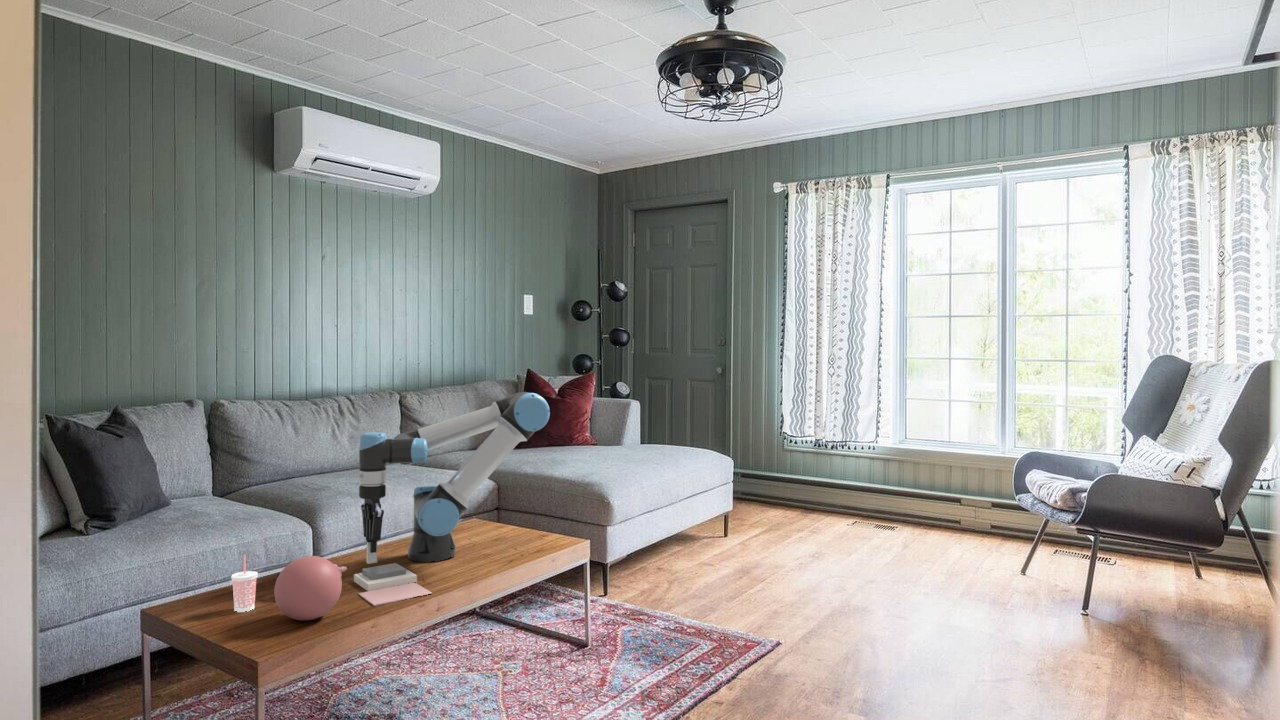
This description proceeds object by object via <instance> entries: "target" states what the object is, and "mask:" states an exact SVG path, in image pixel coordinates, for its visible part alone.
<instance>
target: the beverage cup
mask: <svg viewBox="0 0 1280 720" xmlns="http://www.w3.org/2000/svg"><path fill="white" fill-rule="evenodd" d="M246 556H247V555H246V554H243V571H239V572H235V573H233V574H232V575H231V577H230V579H231V581H232V591H233V609H234V612H235V611H237V612H236V613H246V612H245V611H247V612H250V610H251V611H253V610H255V604H256V603H255V602H256V591H257V578H258V574H259V573H258V571H253V570H248V571H247V569H246V568H247V565H246V563H247V562H246V561H247V558H246ZM252 609H253V610H252Z"/></svg>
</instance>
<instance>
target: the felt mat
mask: <svg viewBox="0 0 1280 720" xmlns="http://www.w3.org/2000/svg"><path fill="white" fill-rule="evenodd" d="M428 594H432V595H433V592H431V591H430V590H428V589H427V588H424V586H421V585H420V584H419V583H418V582H416V583H409V584H404V585H399V586H394V587H389V588H383V589H378V590H373V591H364V592H359V593H358V596H360V598H362V599H364V600H365V601H366V602H367V603H369V604H370V605H372V606H373V607H378V606H382V605H388V604H392V603H397V602H402V600H403V601H406V600H405V599H407V600H411V599H410V598H412V599H414V598H413V597H417V596H422V597H424V596H423V595H427V596H429V595H428ZM417 598H418V597H417Z"/></svg>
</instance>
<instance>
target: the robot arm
mask: <svg viewBox="0 0 1280 720" xmlns="http://www.w3.org/2000/svg"><path fill="white" fill-rule="evenodd" d="M550 411H551V410H550V406H549V404H548V402H547V400H546V399H545V398H544V397H542V396H541V395H540V394H538V393H535V392H529V391H518V392H516V393H513V394H511V395H509V396H505V397H504V398H501V399H498V400H496V401H493V402H492V404H491V405H489V406H486V407H484V408H480V409H477V410H474V411H471V412H467V413H465V414H461V415H458V416H455V417H451V418H449V419H446V420H444V421H439V422H437V423H434V424H430V425H428V426H424V427H421V428H418V429H415V430H412V431H409V432H402V433H398V434H397V435H396V436H395V437H394V438H388V437H387V433H385V432H383V431H381V432H377V431H376V432H375V431H373V432H370V431H368V432H365V433H364V432H363V433H362V434H361V435H360V437H359V450H358V451H359V456H358V458H359V463H358V464H359V467H358V468H359V474H357V477H358V481H359V484H360V485H359V486H358V498H360V499H363V500H364V501H363V502H364V503H363V504H361V505H360V508H361V513H362V514H361V517H362V529H363V537H364V538H365V540H366V556H365V557H366V561H365V562H366V564H368V565H371V564H377V563H378V541H381V535H382V526H383V517H384V513H385V511H384V509H382V504H381V500H380V499H383V498H384V497H386V496H387V495H386V493H387V492H386V490H387V489H386V488H387V487H386V484H385V483H387V465H392V464H417V463H425V462H426V461H427V457H428V451H429V450H433V449H436V448H439V447H442V446H445V445H448V444H451V443H455V442H457V441H460V440H464V439H467V438H470V437H472V436H476V435H478V434H479V435H480V434H481V433H485V432H488V431H491V430H493V431H492V432H491V433H490V434H489V435H488V436H487V437H486V439H485V440H484V441H483V442H482V443H481V444H480V445H479V446H478V447H477V448H476V449H475V450H474V452H473V453H472V454H471V455H470V456H469V457H468V459H467V460H466V461H465V462H464V463H463V464H462V465H461V467H459V468H458V470H457V471H456V472H454V474H453V475H452V476H451V477H450V479H448V481H446V482H439V484H436V485H420V486H416V487H415V488H414V490H413V496H412V498H413V534H412V537H411V540H410V543H409V546H408V551H407V558H409V560H410V559H411V560H410V561H413V560H415V561H414V562H418V561H423V562H422V563H431V561H435V562H440V561H439V560H442V561H445V560H444V559H447V558H450V557H452V556H454V555H455V554H456V555H457V548H456V544H455V541H454V538H453V535H452V532H453V531H454V529H455V528H456V527H457V525H458V523H459V520H460V517H462V515H463V514H464V513H465V512H466V510H468V508H469V500H470V498H471V497H473V495H475V493H476V492H478V490H479V488H481V486H482V485H483V484H484V483H485V482H486V481H487V480H488V478H489V477H490V476H491V475H492V474H493V473H494V471H496V470H497V468H498V467H499V466H500V464H501V463H503V461H504V460H505V459H506V458H507V457H508V456H509V455H510V453H511V452H512V451H513V450H514V449H515V447H516V446H518V445H519V443H521V442H528V440H529V439H530V438H531V437H532V436H533V435H534V433H535V432H538V431H540V430H542V429H543V428H544V427H545V426H546V425H547V424H548V422H549V419H550V416H551V412H550ZM456 555H455V556H456ZM455 556H454V557H455ZM450 559H451V558H450ZM447 560H448V559H447Z"/></svg>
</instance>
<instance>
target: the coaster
mask: <svg viewBox="0 0 1280 720" xmlns="http://www.w3.org/2000/svg"><path fill="white" fill-rule="evenodd" d="M406 569H407V568H405V567H403V566H402V565H400V564H398V563H397V562H394V563H388V564H383V565H376V566H372V567H366V568H361V573H362V574H363V575H364V576H366V577H367V578H369V579H370V580H378V579H383V578H389V577H394V576H399V575H405V574H406Z"/></svg>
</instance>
